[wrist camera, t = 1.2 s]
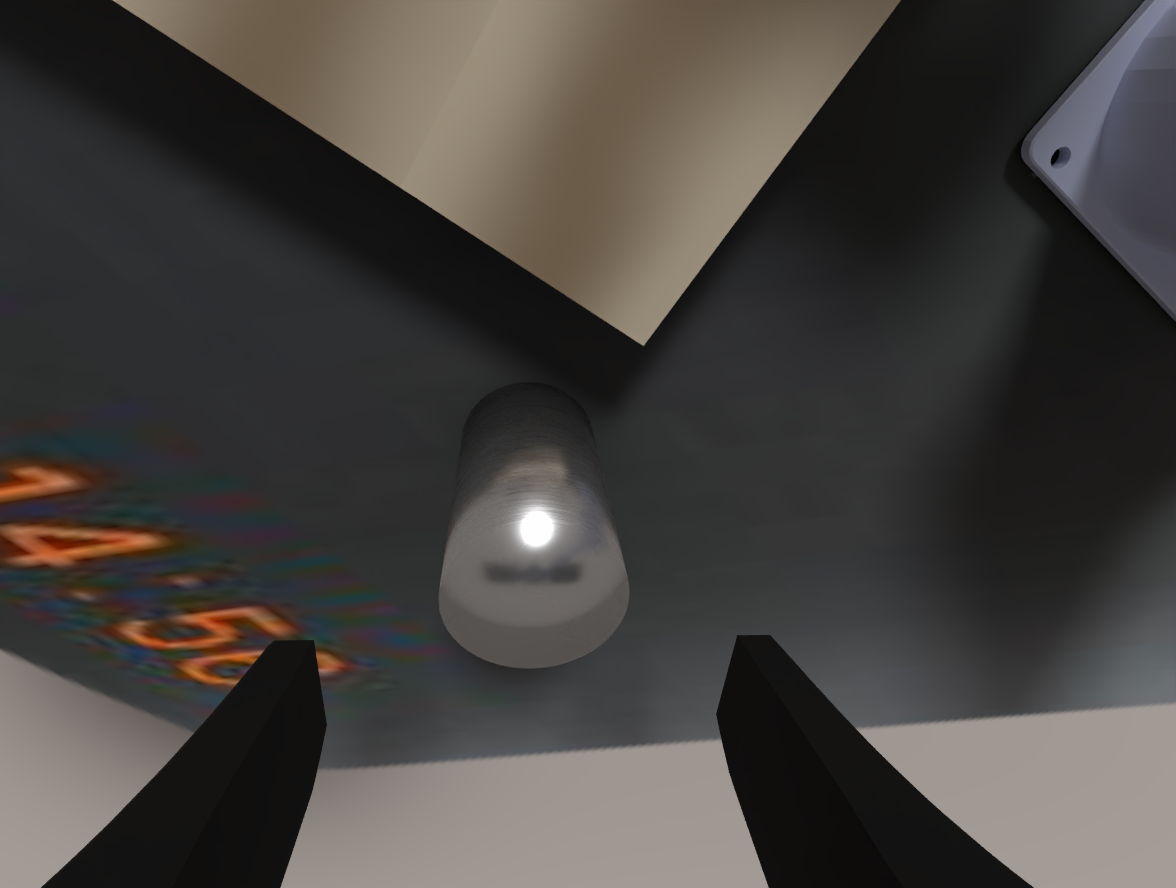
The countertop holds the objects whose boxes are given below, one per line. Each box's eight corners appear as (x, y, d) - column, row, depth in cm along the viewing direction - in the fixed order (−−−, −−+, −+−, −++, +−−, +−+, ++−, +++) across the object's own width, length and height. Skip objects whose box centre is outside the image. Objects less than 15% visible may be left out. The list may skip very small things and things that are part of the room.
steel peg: (618, 424, 20) (666, 572, 13) (547, 516, 21) (562, 690, 15) (506, 357, 18) (502, 491, 12) (438, 461, 20) (403, 628, 13)
